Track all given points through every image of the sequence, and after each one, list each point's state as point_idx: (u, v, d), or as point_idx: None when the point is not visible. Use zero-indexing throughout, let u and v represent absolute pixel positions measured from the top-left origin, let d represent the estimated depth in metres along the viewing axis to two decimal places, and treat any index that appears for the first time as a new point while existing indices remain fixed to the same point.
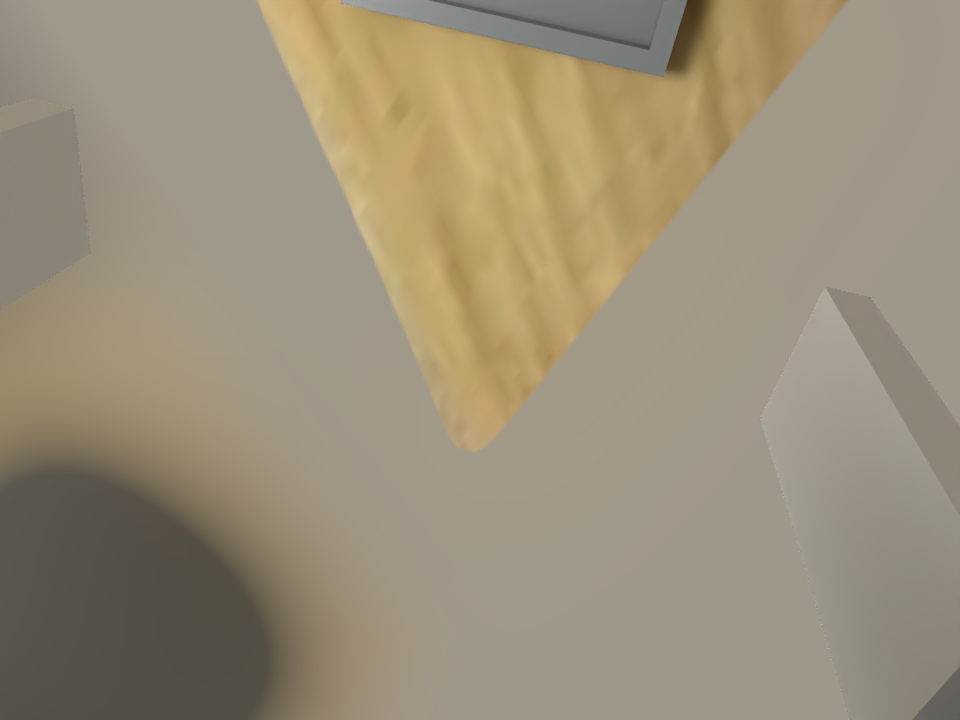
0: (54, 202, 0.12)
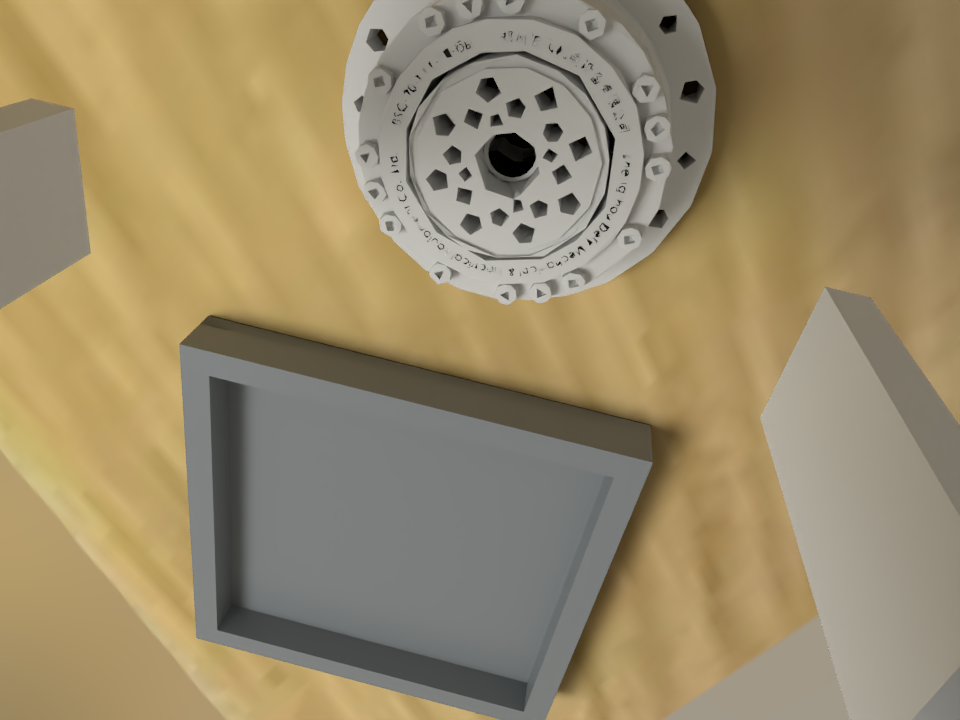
0: (54, 202, 0.12)
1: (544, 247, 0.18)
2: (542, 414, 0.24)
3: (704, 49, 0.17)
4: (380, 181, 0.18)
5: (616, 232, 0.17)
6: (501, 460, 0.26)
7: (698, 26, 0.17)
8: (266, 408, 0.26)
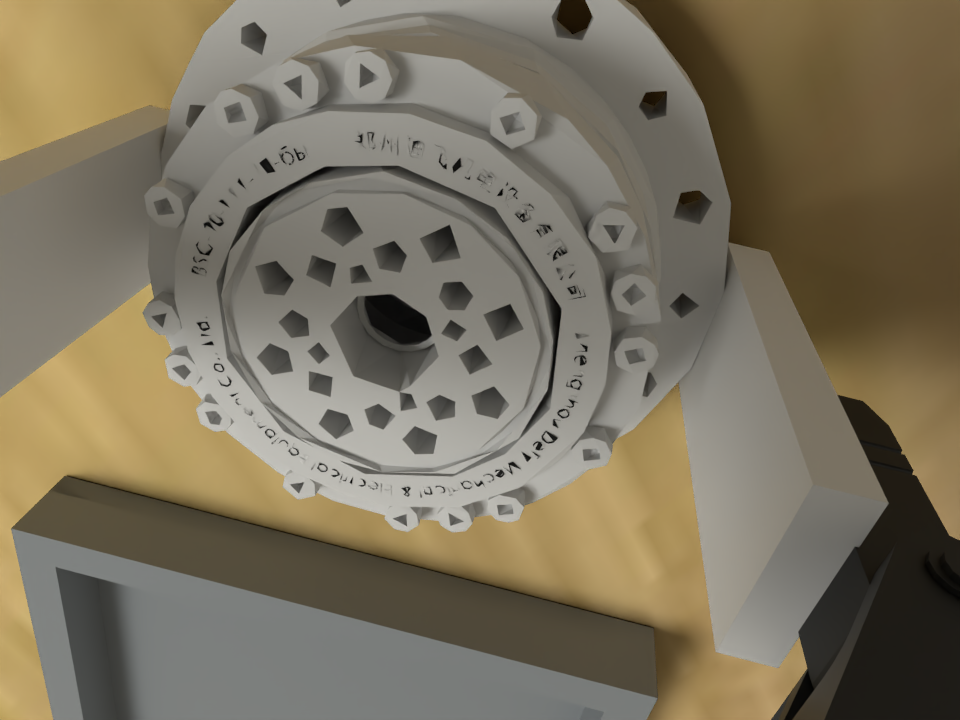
0: None
1: (455, 461, 0.11)
2: (506, 619, 0.18)
3: (712, 143, 0.11)
4: None
5: (569, 444, 0.10)
6: None
7: (702, 108, 0.11)
8: (147, 591, 0.20)
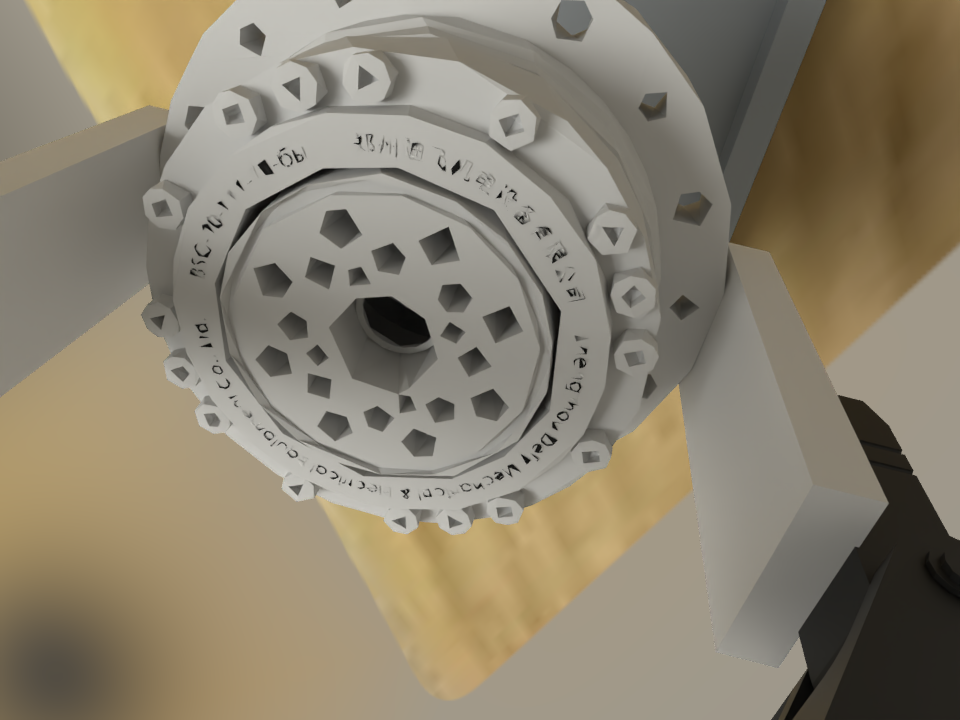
0: None
1: (454, 463, 0.11)
2: None
3: (712, 145, 0.11)
4: None
5: (569, 447, 0.10)
6: None
7: (702, 110, 0.11)
8: None
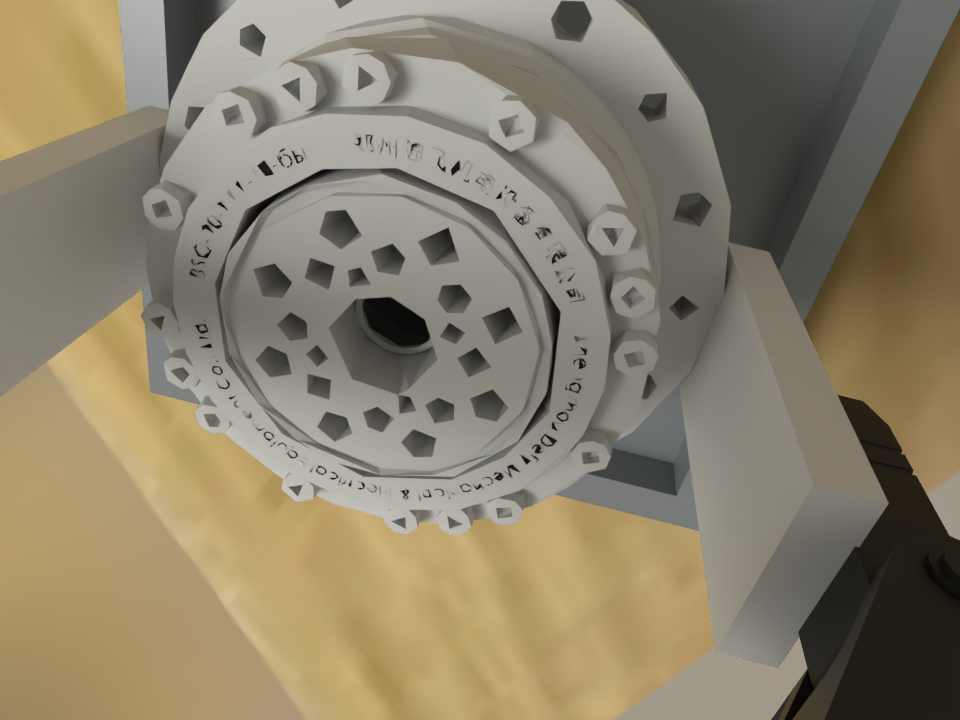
0: None
1: (454, 464, 0.11)
2: None
3: (712, 145, 0.11)
4: None
5: (569, 448, 0.10)
6: None
7: (702, 110, 0.11)
8: None
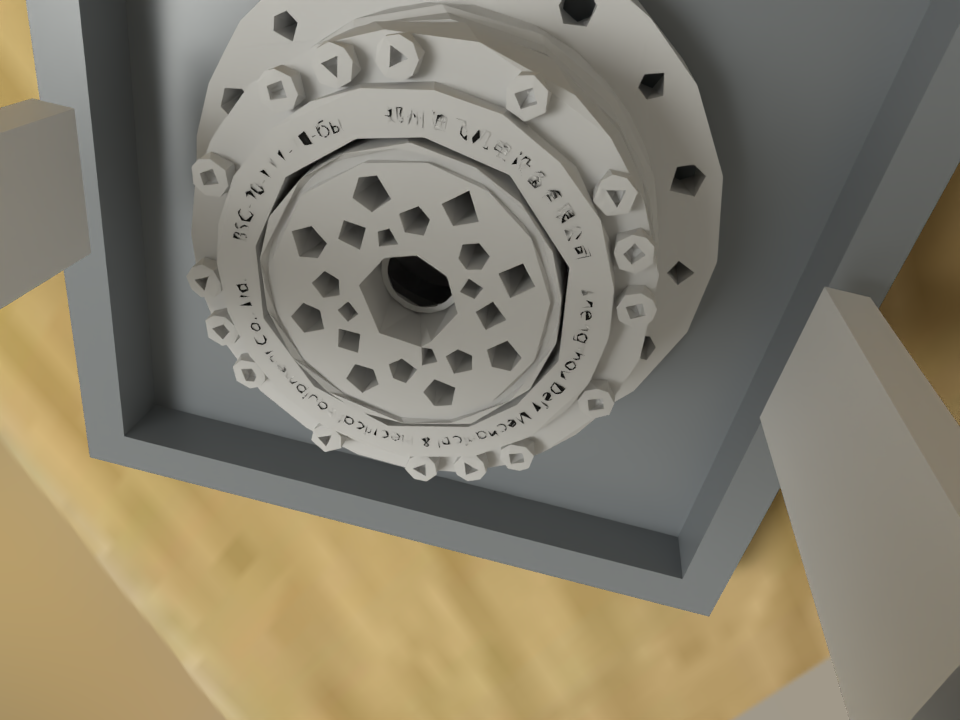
0: (54, 202, 0.12)
1: (471, 412, 0.12)
2: None
3: (705, 121, 0.12)
4: None
5: (576, 395, 0.12)
6: None
7: (696, 89, 0.12)
8: None
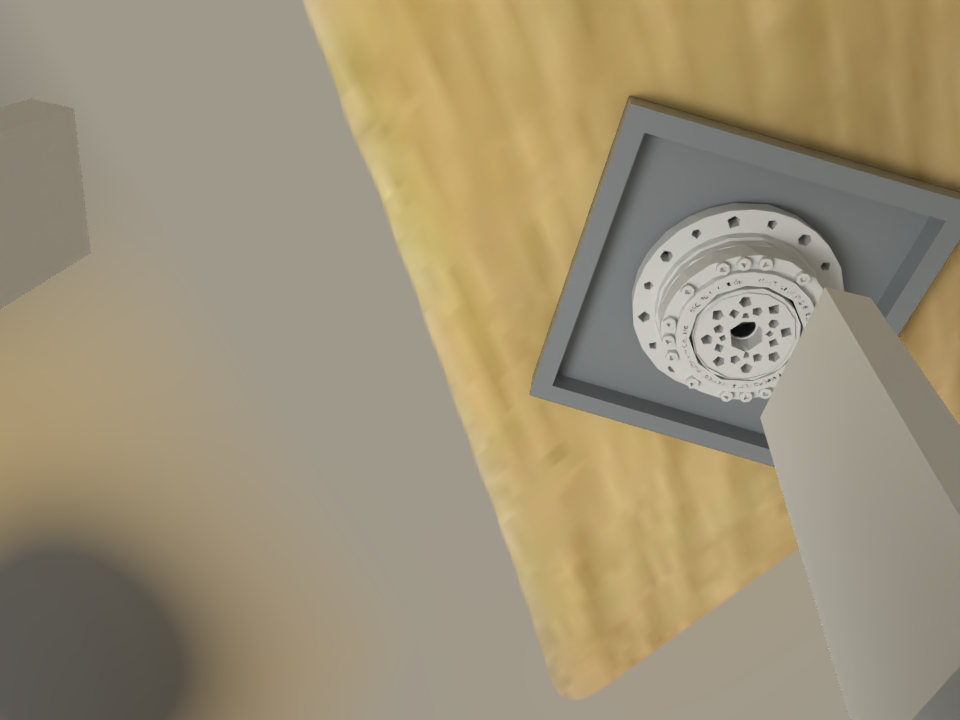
0: (54, 202, 0.12)
1: (755, 375, 0.34)
2: (890, 175, 0.32)
3: (841, 279, 0.34)
4: (670, 334, 0.34)
5: None
6: (838, 221, 0.34)
7: (840, 269, 0.34)
8: (657, 176, 0.34)
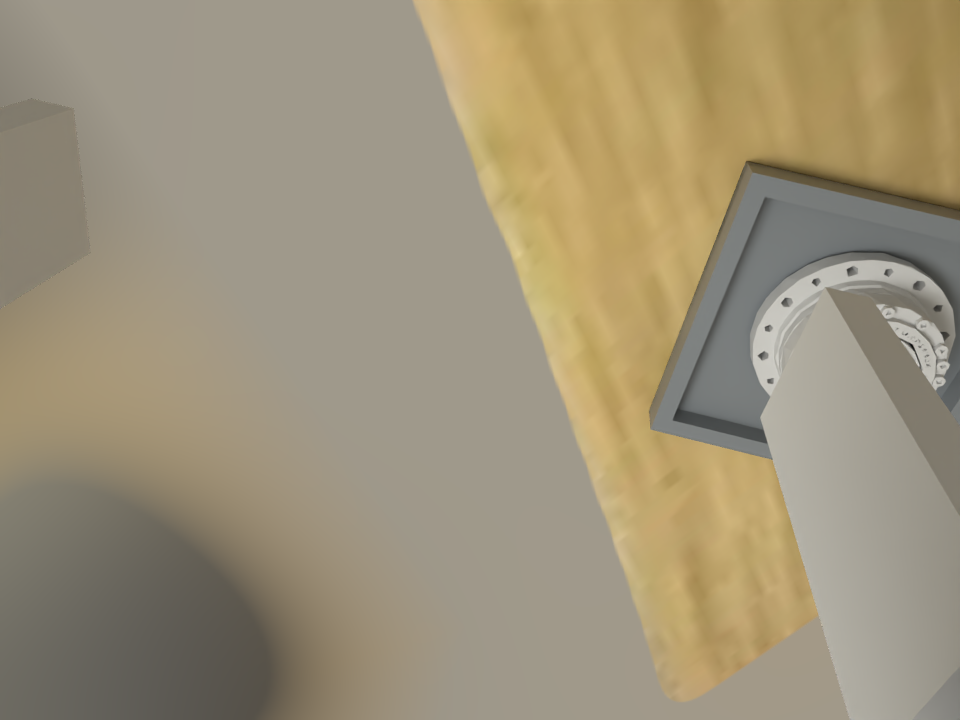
0: (54, 202, 0.12)
1: None
2: None
3: (953, 319, 0.37)
4: None
5: None
6: (944, 264, 0.37)
7: (952, 310, 0.37)
8: (772, 231, 0.37)
